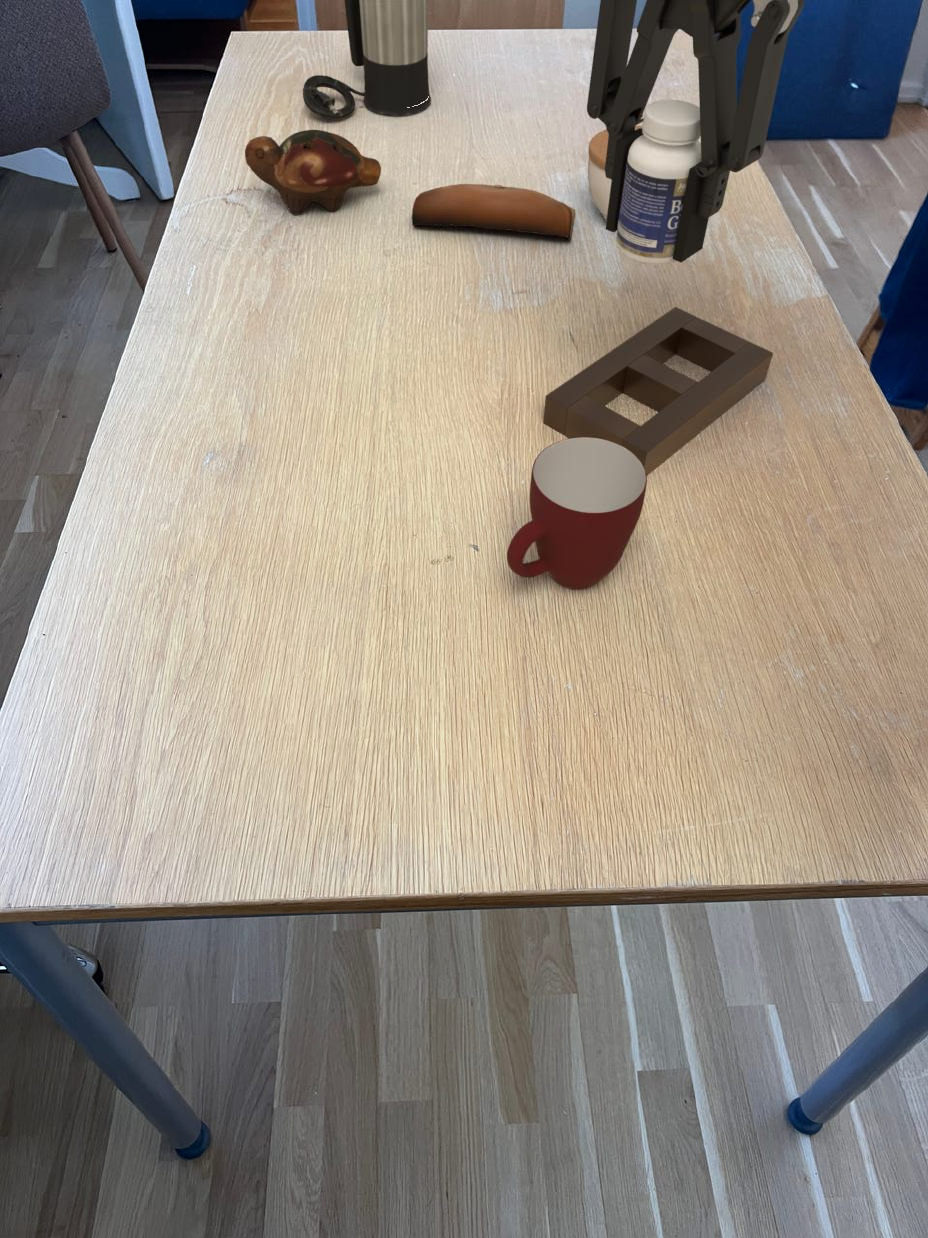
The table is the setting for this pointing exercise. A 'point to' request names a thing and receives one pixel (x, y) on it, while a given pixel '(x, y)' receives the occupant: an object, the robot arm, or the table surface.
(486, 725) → the table surface
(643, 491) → the mug
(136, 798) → the table surface
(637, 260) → the pill bottle
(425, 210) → the sunglasses case
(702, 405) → the holder
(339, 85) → the milk frother
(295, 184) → the decorative turtle
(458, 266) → the table surface
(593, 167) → the trinket box
